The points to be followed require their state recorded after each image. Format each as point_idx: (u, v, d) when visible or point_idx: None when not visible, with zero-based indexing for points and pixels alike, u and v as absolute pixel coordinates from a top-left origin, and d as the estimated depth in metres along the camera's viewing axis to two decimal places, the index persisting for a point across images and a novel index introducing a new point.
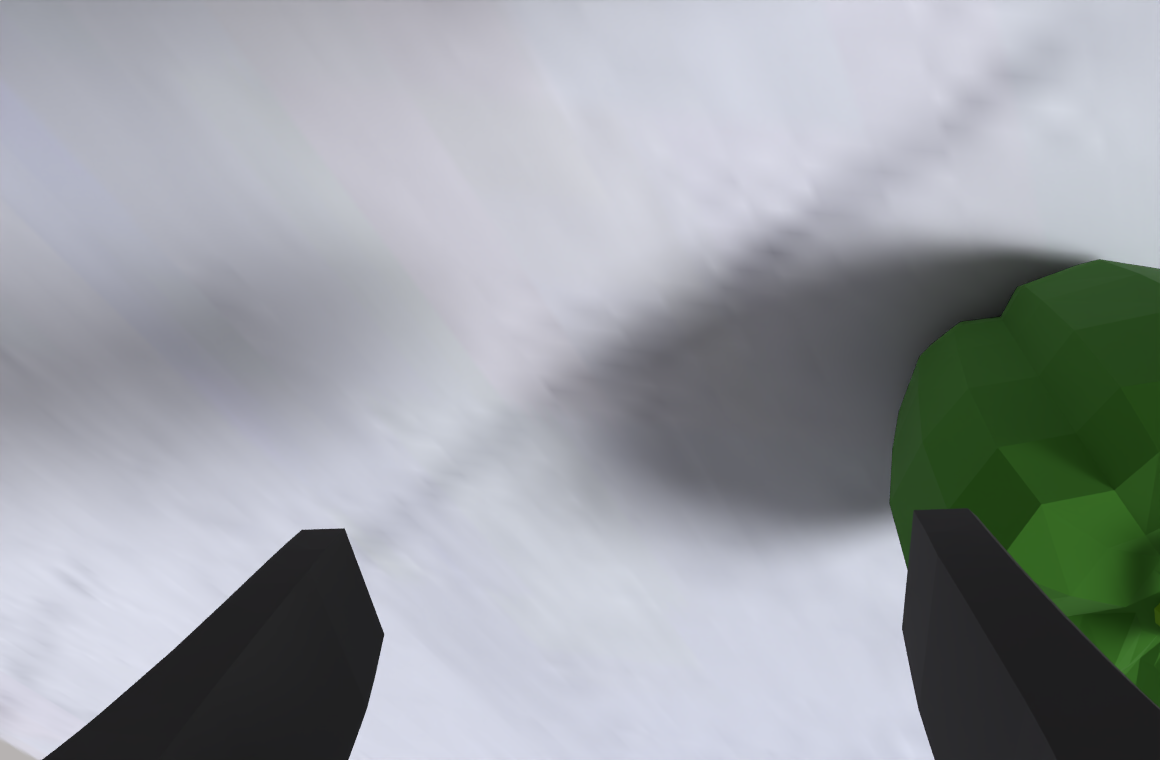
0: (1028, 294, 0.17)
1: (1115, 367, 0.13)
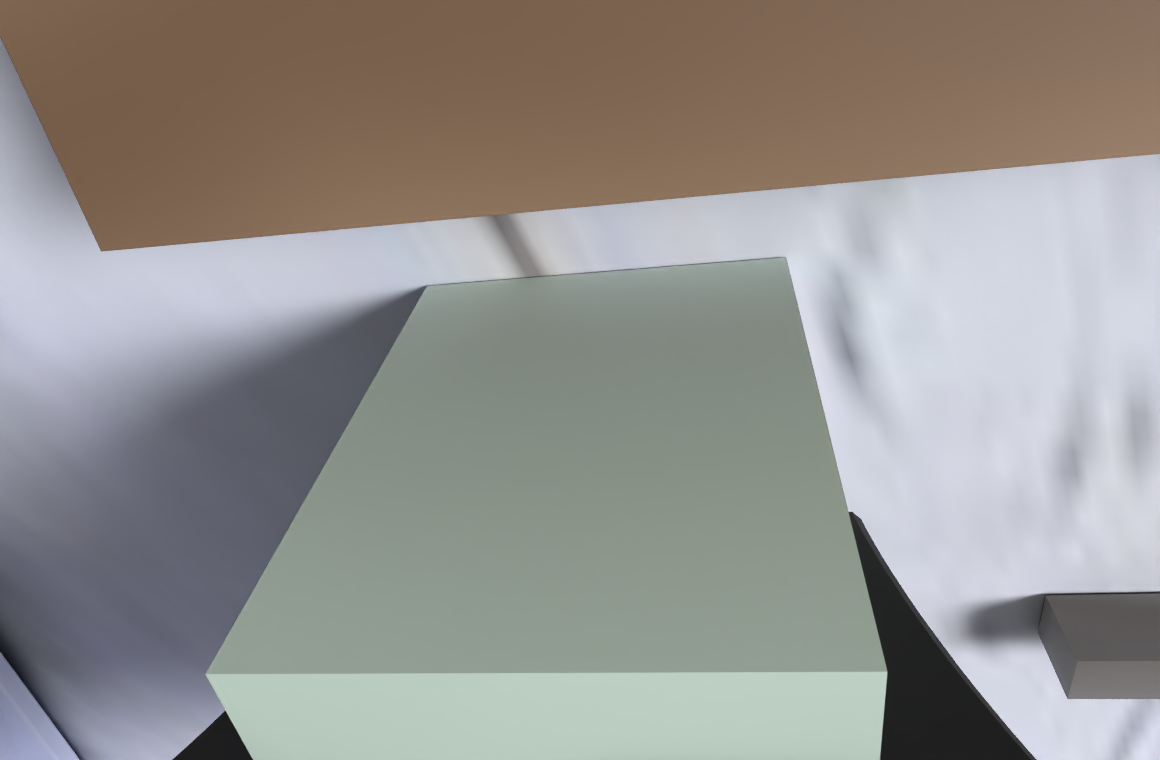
0: None
1: None
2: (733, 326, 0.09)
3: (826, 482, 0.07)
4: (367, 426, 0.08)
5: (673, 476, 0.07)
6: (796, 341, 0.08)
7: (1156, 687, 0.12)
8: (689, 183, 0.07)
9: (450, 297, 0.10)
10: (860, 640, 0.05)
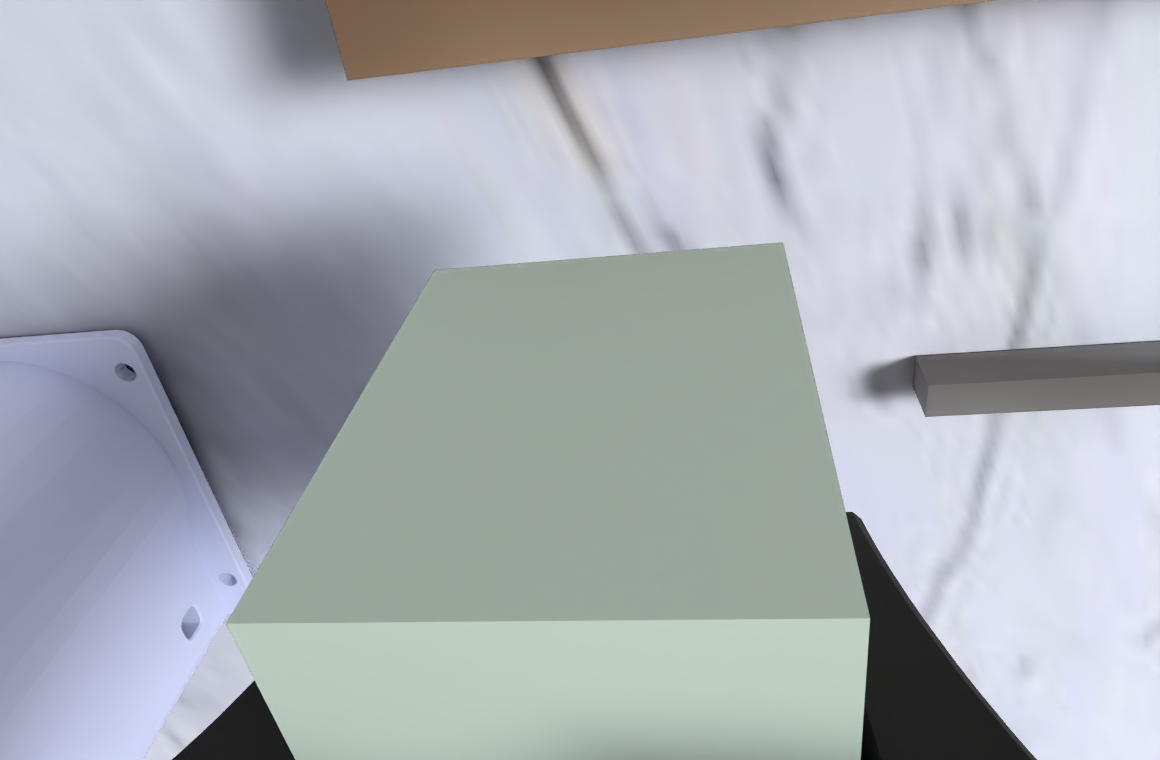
0: None
1: None
2: (730, 306, 0.09)
3: (817, 449, 0.07)
4: (377, 400, 0.09)
5: (672, 445, 0.07)
6: (791, 320, 0.09)
7: (981, 405, 0.18)
8: (669, 32, 0.13)
9: (457, 280, 0.11)
10: (846, 591, 0.06)
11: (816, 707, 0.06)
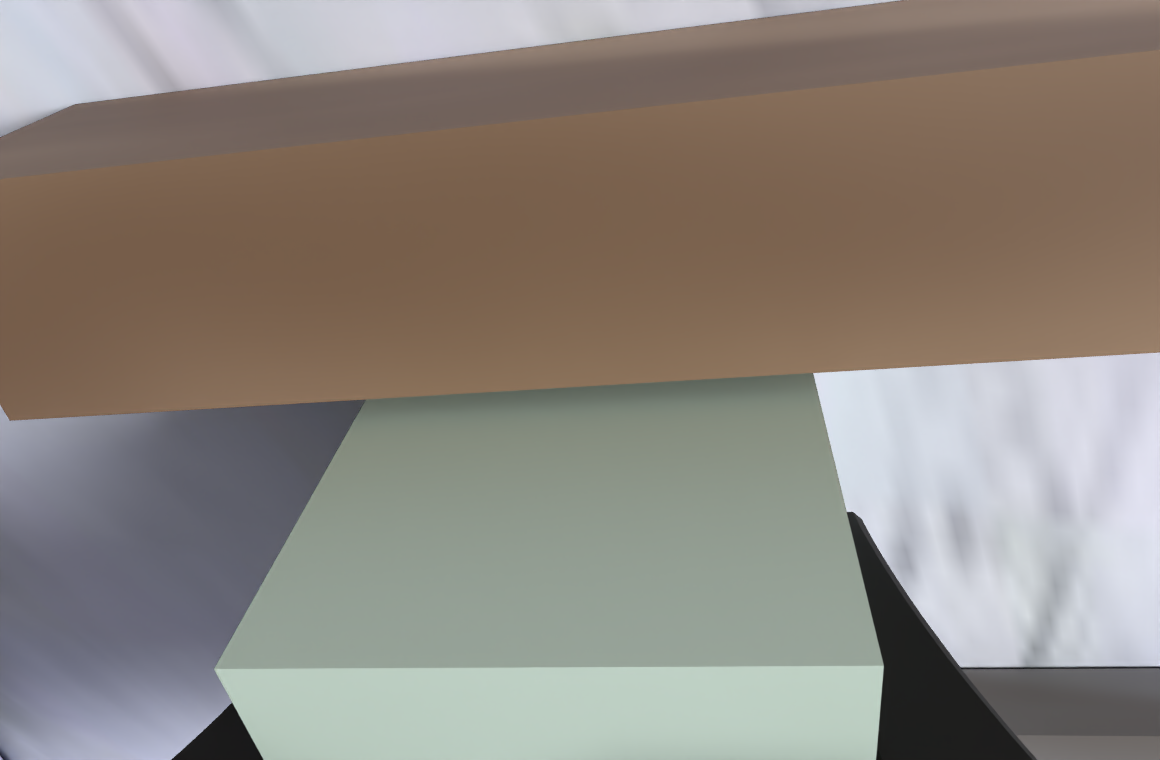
0: None
1: None
2: None
3: (824, 480, 0.07)
4: (371, 425, 0.08)
5: (673, 474, 0.07)
6: None
7: None
8: (488, 382, 0.08)
9: None
10: (857, 635, 0.05)
11: (827, 754, 0.06)
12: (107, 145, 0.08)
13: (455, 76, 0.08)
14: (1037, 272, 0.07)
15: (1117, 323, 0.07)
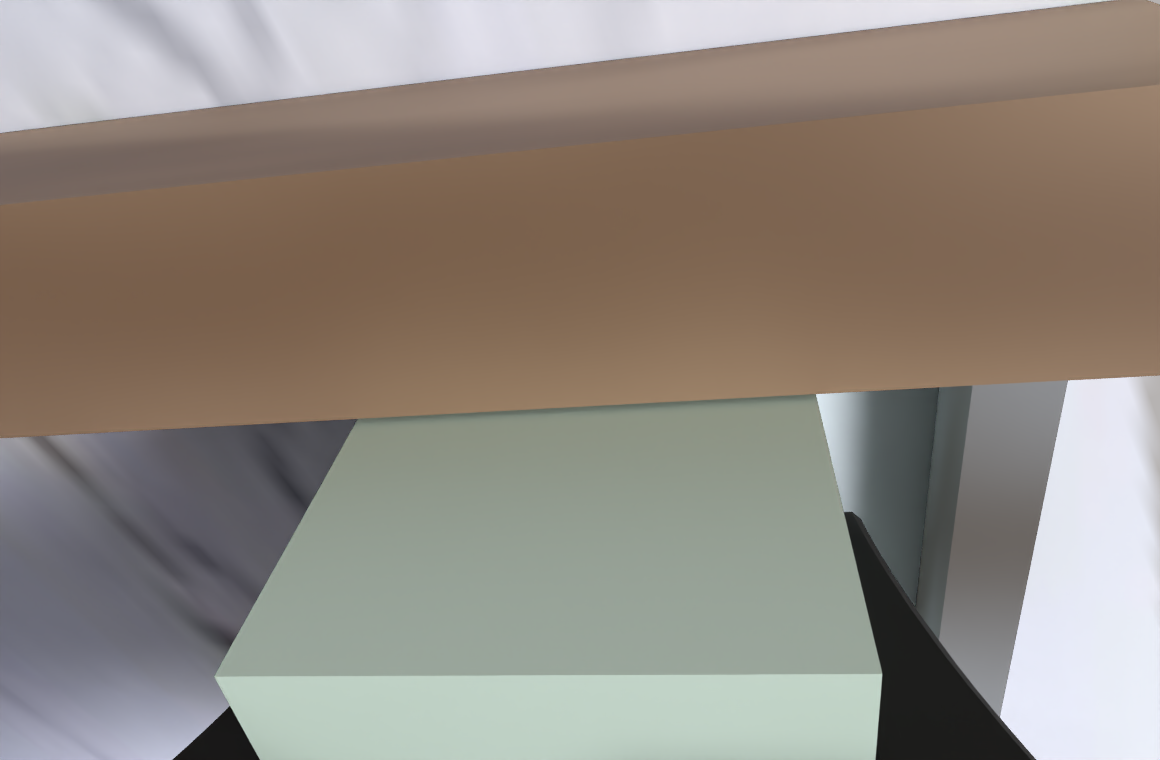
0: None
1: None
2: None
3: (823, 487, 0.07)
4: (371, 431, 0.08)
5: (673, 481, 0.07)
6: None
7: None
8: None
9: None
10: (855, 644, 0.05)
11: None
12: None
13: None
14: (321, 347, 0.08)
15: (404, 389, 0.08)
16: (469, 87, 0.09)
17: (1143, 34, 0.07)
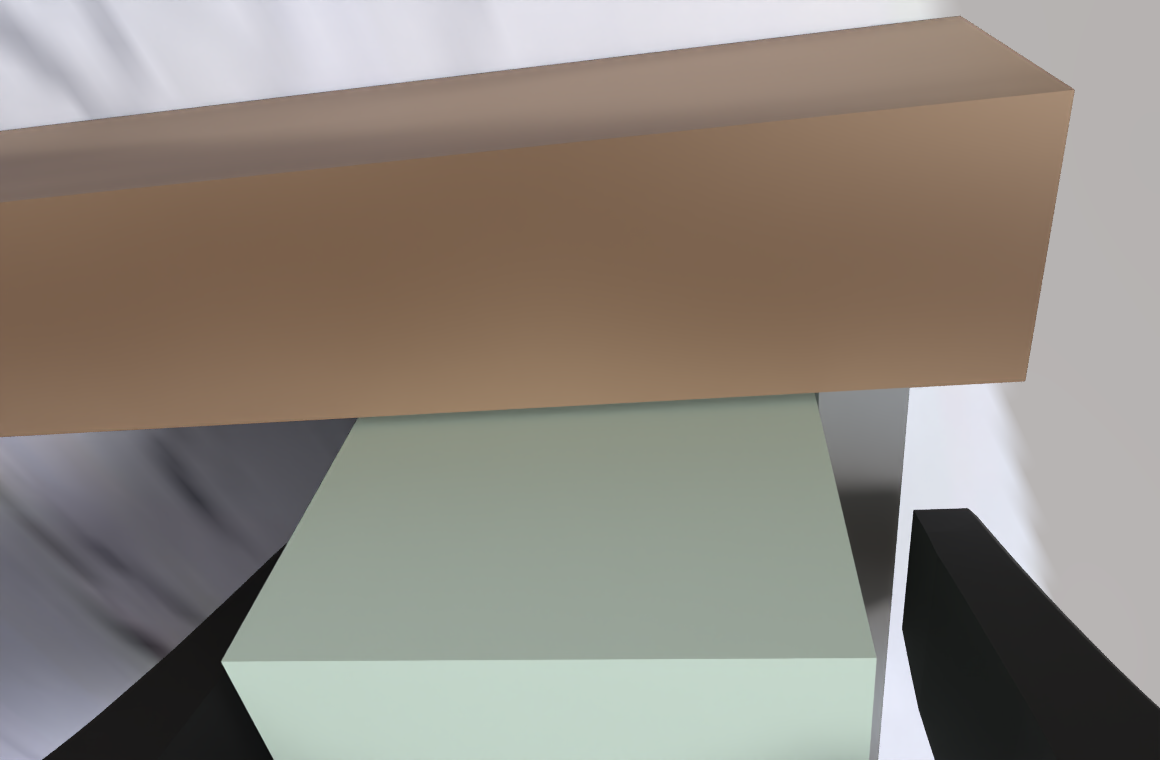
0: None
1: None
2: None
3: (820, 478, 0.07)
4: (374, 424, 0.08)
5: (673, 473, 0.07)
6: None
7: None
8: None
9: None
10: (850, 630, 0.06)
11: (823, 745, 0.06)
12: None
13: None
14: (156, 357, 0.08)
15: (240, 398, 0.08)
16: (319, 102, 0.09)
17: (936, 54, 0.07)
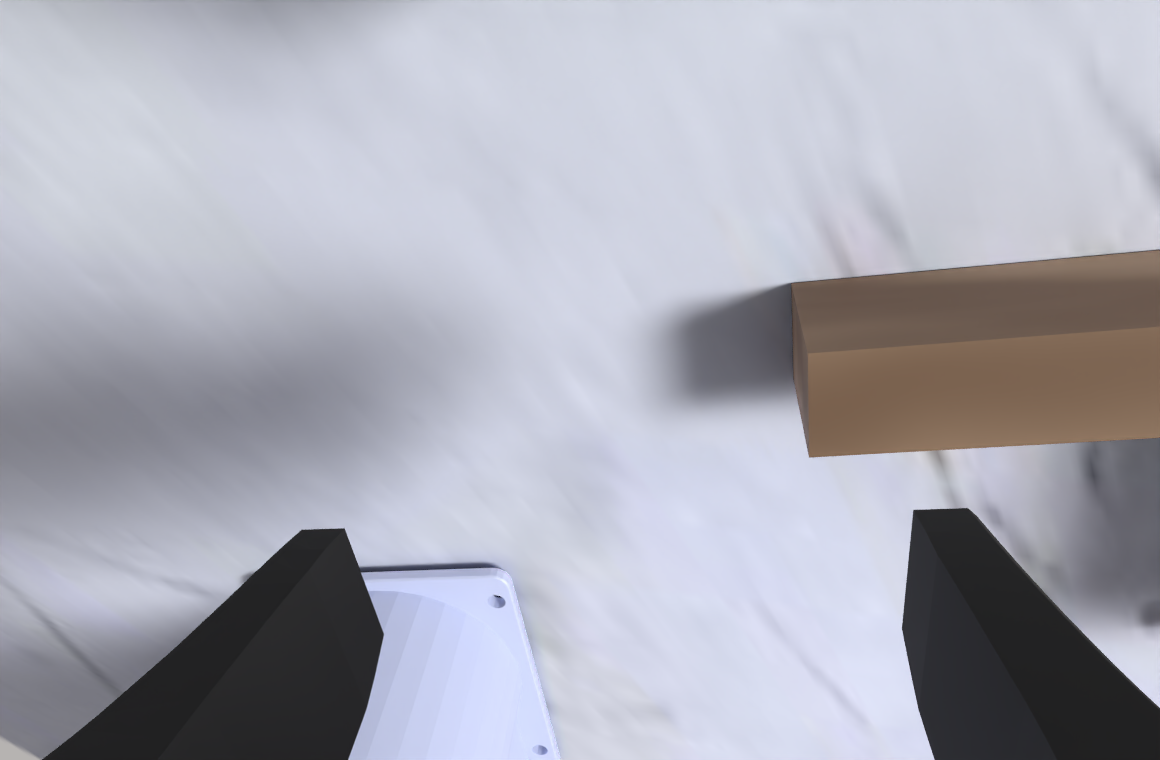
0: None
1: None
2: None
3: None
4: None
5: None
6: None
7: None
8: (1085, 437, 0.16)
9: None
10: None
11: None
12: (901, 325, 0.16)
13: (1051, 283, 0.17)
14: None
15: None
16: None
17: None
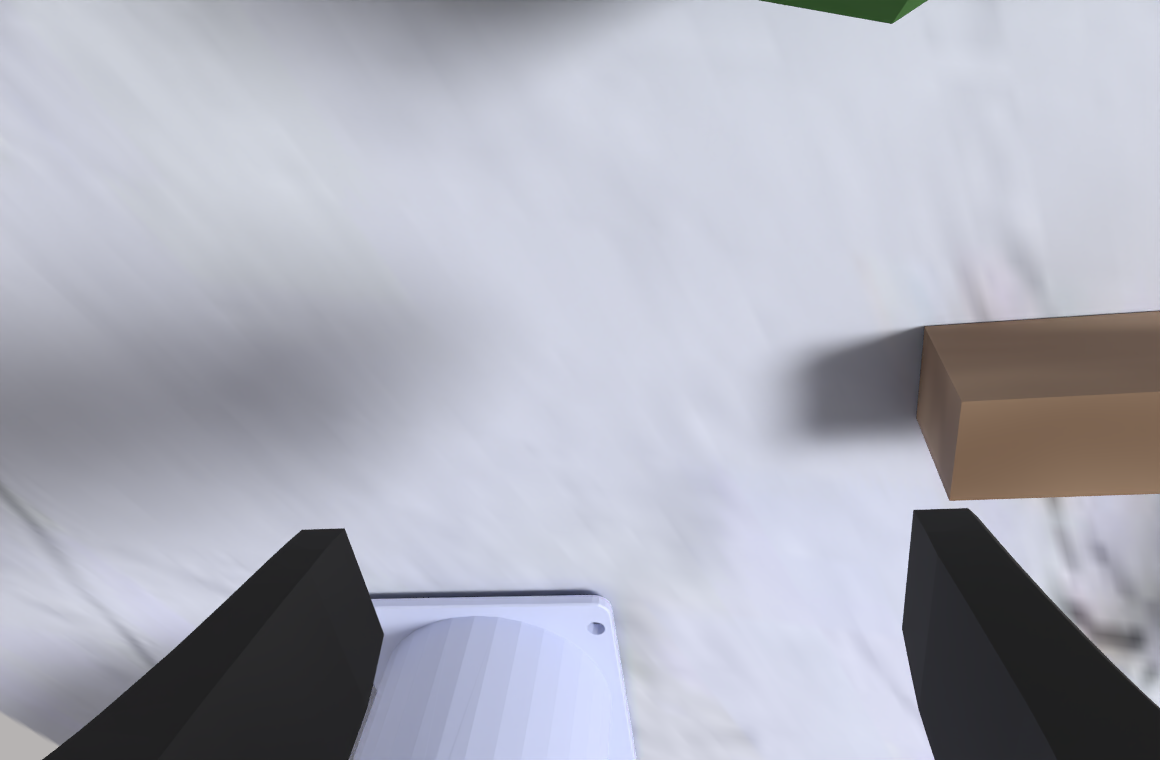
0: None
1: None
2: None
3: None
4: None
5: None
6: None
7: None
8: None
9: None
10: None
11: None
12: (1050, 374, 0.17)
13: None
14: None
15: None
16: None
17: None
